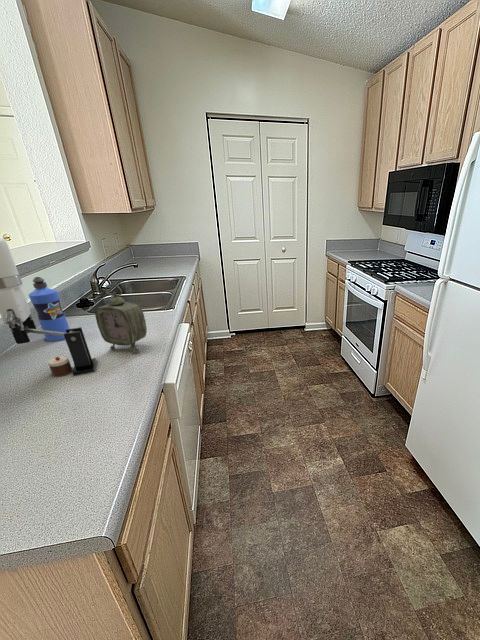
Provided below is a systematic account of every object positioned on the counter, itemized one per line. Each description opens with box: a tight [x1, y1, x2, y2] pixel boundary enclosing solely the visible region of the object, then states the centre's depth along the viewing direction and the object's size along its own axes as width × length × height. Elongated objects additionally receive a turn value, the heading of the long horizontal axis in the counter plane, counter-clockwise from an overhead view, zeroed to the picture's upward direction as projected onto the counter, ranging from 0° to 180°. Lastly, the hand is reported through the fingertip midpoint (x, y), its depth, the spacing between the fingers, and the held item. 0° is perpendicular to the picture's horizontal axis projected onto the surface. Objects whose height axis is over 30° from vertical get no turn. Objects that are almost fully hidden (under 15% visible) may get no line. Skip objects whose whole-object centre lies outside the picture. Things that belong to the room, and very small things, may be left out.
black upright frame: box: [64, 326, 97, 376], centre depth 111 cm, size 6×9×14 cm, turn 25°
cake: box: [47, 355, 73, 377], centre depth 110 cm, size 6×6×6 cm
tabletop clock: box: [94, 283, 148, 354], centre depth 122 cm, size 14×9×25 cm, turn 74°
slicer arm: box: [23, 325, 77, 336], centre depth 105 cm, size 15×5×2 cm, turn 115°
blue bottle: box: [28, 276, 71, 342], centre depth 134 cm, size 9×9×25 cm
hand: (27, 337), depth 103 cm, fingers open, 9 cm apart
